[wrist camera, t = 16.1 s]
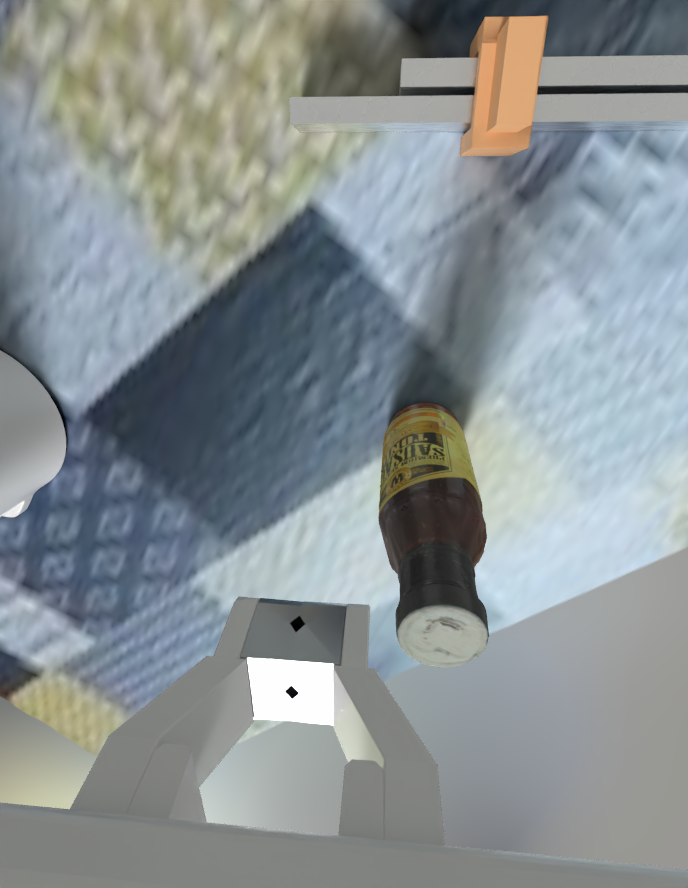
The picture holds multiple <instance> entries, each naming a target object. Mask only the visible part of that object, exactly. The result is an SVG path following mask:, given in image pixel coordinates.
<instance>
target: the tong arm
mask: <svg viewBox="0 0 688 888" xmlns="http://www.w3.org/2000/svg"><path fill="white" fill-rule="evenodd" d="M477 66H478V58H403V59H402V61H401V70H400V85H399V96H448V95H475V85H476V76H477ZM637 93H688V55H655V56H571V57H542V63H541V70H540V76H539V83H538V90H537V95H543V94H637Z"/></svg>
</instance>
